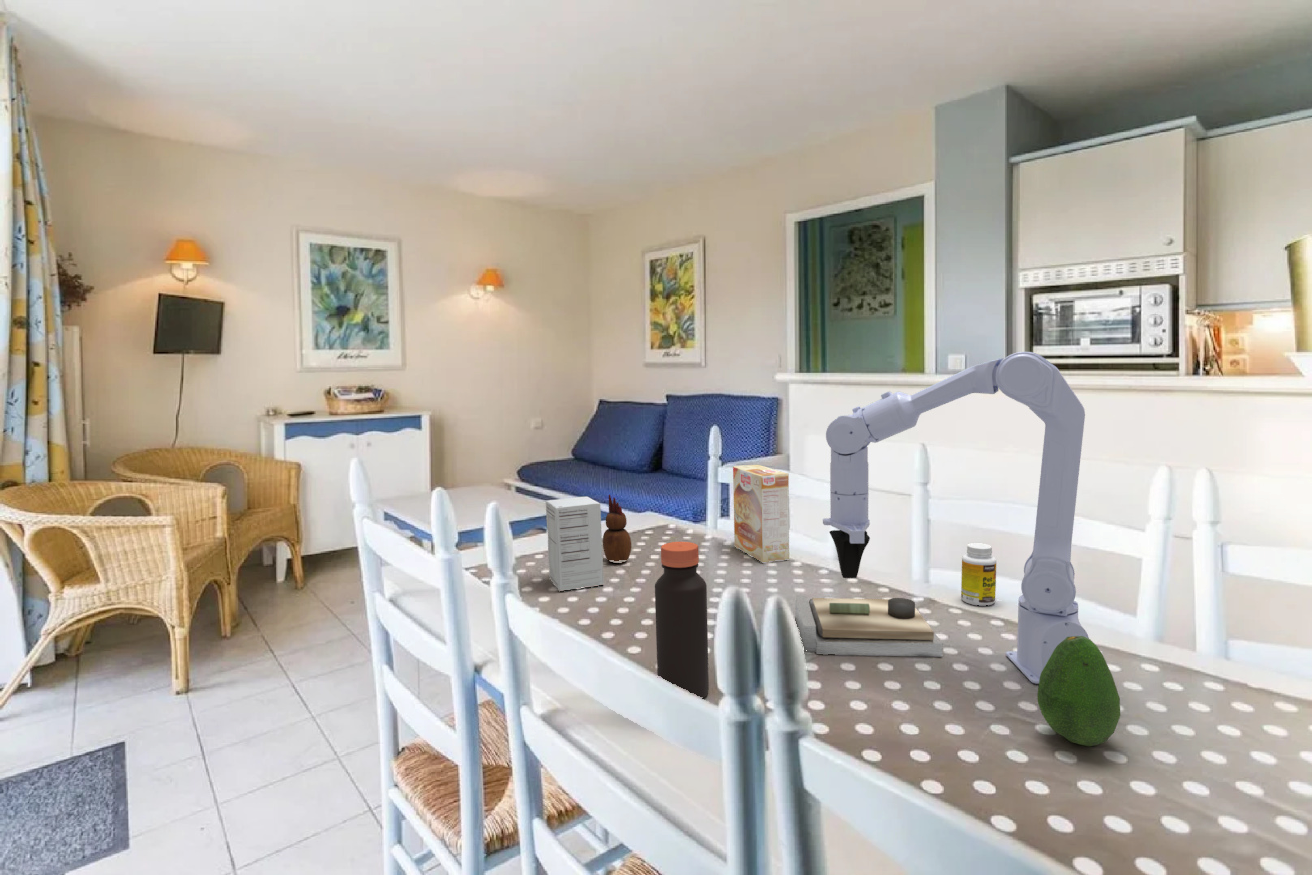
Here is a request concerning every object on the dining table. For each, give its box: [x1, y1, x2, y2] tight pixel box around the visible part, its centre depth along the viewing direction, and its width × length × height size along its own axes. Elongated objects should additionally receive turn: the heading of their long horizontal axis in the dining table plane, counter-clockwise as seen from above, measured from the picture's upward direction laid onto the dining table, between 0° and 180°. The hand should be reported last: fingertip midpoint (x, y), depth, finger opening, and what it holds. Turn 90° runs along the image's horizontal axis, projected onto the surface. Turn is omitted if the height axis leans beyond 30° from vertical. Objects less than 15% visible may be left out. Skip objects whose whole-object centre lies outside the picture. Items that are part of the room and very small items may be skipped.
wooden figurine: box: [602, 494, 632, 561], centre depth 154 cm, size 7×6×15 cm
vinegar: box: [654, 541, 710, 699], centre depth 91 cm, size 7×7×20 cm
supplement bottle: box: [960, 542, 997, 607], centre depth 123 cm, size 6×6×10 cm
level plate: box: [808, 597, 935, 640], centre depth 110 cm, size 14×17×3 cm
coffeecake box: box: [732, 464, 790, 563], centre depth 157 cm, size 15×7×20 cm, turn 17°
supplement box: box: [545, 496, 605, 591], centre depth 140 cm, size 10×9×17 cm
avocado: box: [1036, 636, 1121, 747], centre depth 78 cm, size 8×8×12 cm
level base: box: [794, 594, 944, 658], centre depth 110 cm, size 16×20×4 cm
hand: (849, 576), depth 109 cm, fingers closed
